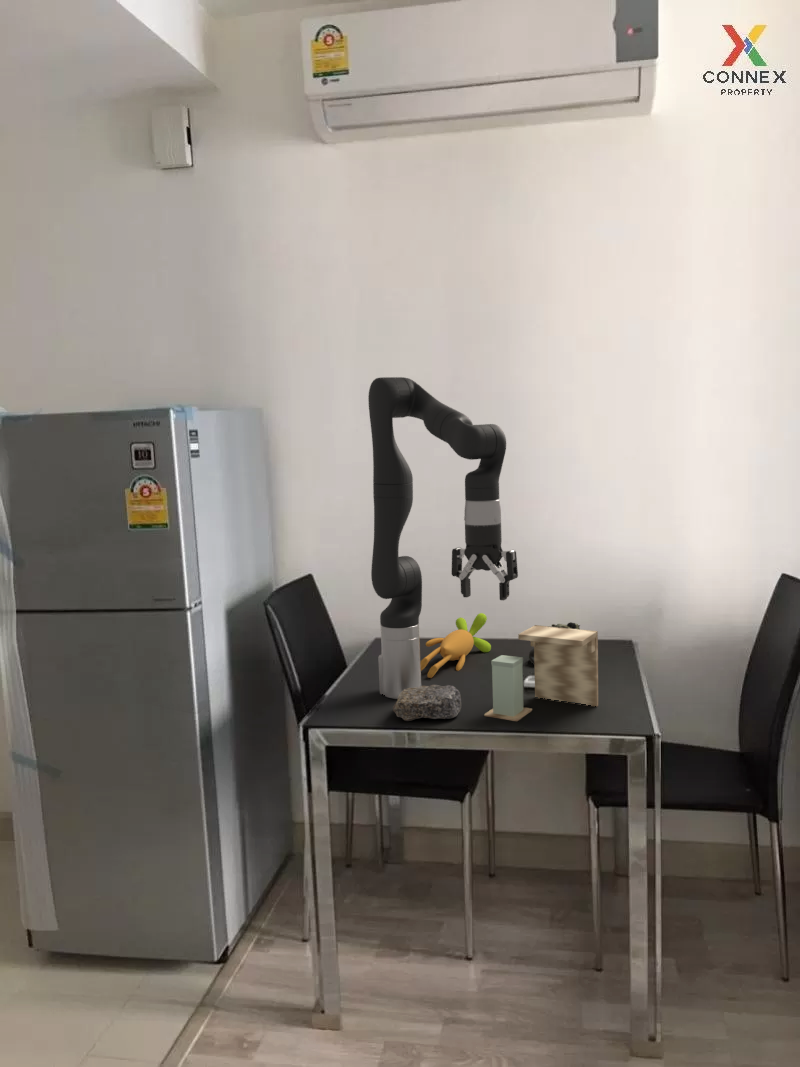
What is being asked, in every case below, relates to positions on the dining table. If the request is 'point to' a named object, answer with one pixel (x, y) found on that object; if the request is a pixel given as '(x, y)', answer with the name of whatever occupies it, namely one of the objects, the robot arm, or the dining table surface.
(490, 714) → the mat
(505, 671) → the tin
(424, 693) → the rock
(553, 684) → the shelf
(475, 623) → the toy
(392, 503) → the robot arm
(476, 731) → the dining table surface
